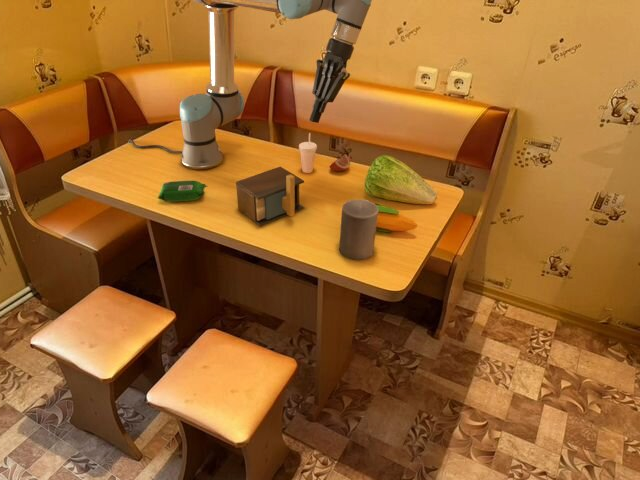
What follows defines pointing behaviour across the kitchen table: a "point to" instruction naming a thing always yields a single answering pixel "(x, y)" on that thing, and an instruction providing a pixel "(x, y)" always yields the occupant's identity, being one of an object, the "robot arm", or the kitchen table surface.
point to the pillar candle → (358, 229)
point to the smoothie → (307, 155)
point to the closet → (264, 193)
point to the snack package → (181, 191)
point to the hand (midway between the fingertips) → (313, 121)
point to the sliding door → (281, 200)
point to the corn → (392, 220)
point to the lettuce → (397, 182)
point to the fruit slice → (341, 163)
